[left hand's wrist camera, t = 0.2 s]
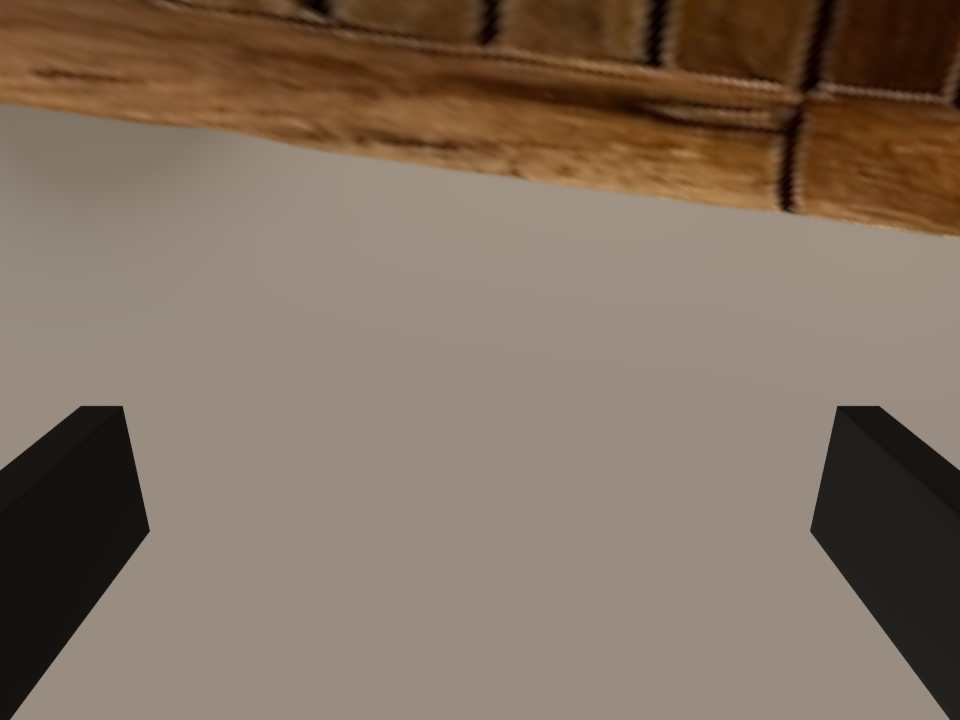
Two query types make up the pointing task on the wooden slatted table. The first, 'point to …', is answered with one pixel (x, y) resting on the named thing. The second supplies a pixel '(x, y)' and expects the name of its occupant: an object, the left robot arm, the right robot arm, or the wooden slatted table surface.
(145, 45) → the wooden slatted table surface
